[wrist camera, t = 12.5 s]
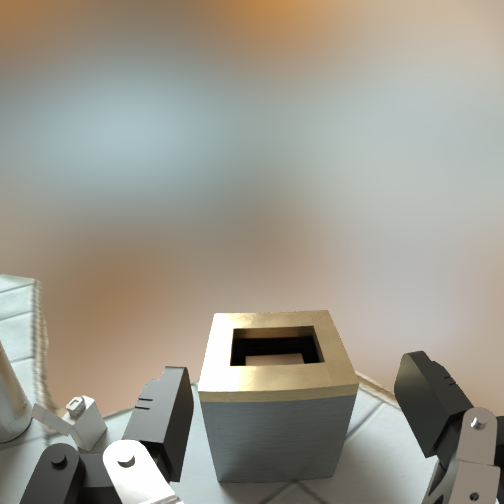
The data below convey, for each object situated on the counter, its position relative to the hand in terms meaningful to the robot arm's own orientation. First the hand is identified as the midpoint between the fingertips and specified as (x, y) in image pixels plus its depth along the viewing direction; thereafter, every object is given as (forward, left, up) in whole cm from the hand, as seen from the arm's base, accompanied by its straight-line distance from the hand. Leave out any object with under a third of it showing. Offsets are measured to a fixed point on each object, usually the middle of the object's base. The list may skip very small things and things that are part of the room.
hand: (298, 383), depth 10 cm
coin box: (0, +11, -18) cm, 21 cm away
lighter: (-19, +8, -18) cm, 27 cm away
